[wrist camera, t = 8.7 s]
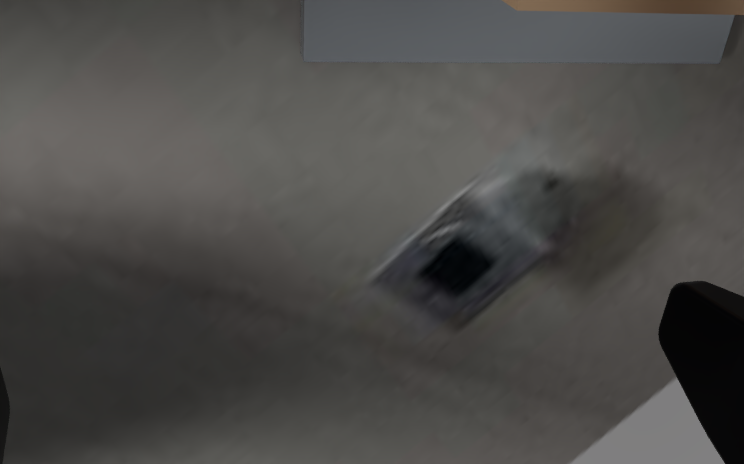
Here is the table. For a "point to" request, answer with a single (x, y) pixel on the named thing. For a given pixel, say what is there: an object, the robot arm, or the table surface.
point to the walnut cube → (633, 6)
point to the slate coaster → (502, 34)
